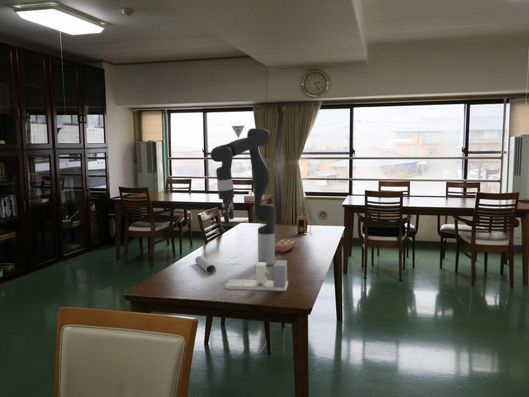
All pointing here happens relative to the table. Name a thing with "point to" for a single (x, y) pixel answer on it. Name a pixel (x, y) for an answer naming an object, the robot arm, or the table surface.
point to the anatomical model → (285, 244)
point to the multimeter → (302, 223)
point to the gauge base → (277, 285)
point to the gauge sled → (261, 273)
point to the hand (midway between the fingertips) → (229, 221)
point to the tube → (205, 265)
